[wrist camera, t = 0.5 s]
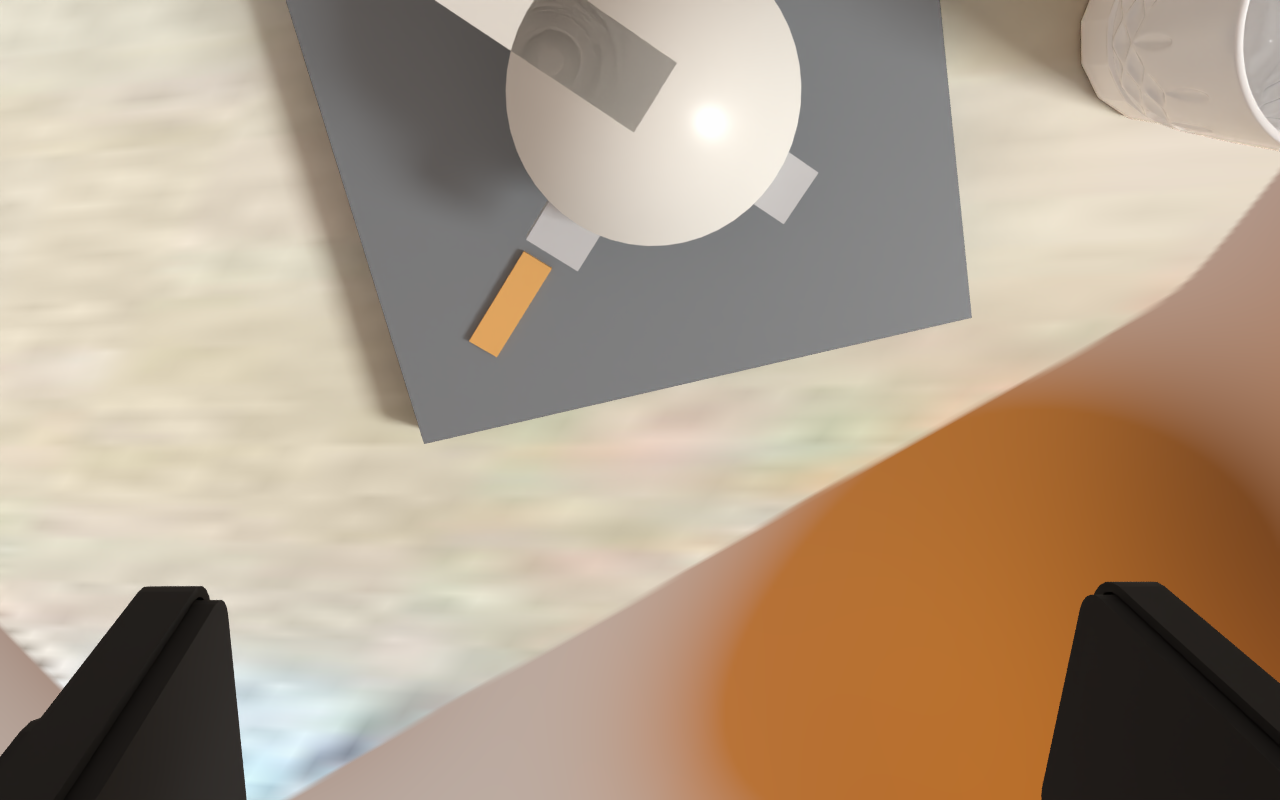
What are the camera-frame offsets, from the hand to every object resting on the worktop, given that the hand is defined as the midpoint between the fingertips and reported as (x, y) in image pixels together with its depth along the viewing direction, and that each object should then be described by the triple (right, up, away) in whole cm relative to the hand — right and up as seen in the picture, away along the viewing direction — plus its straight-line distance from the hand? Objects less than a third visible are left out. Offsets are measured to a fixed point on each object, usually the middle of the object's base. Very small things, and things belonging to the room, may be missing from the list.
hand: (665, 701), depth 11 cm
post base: (0, +15, +26) cm, 29 cm away
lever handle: (-4, +15, +21) cm, 26 cm away
